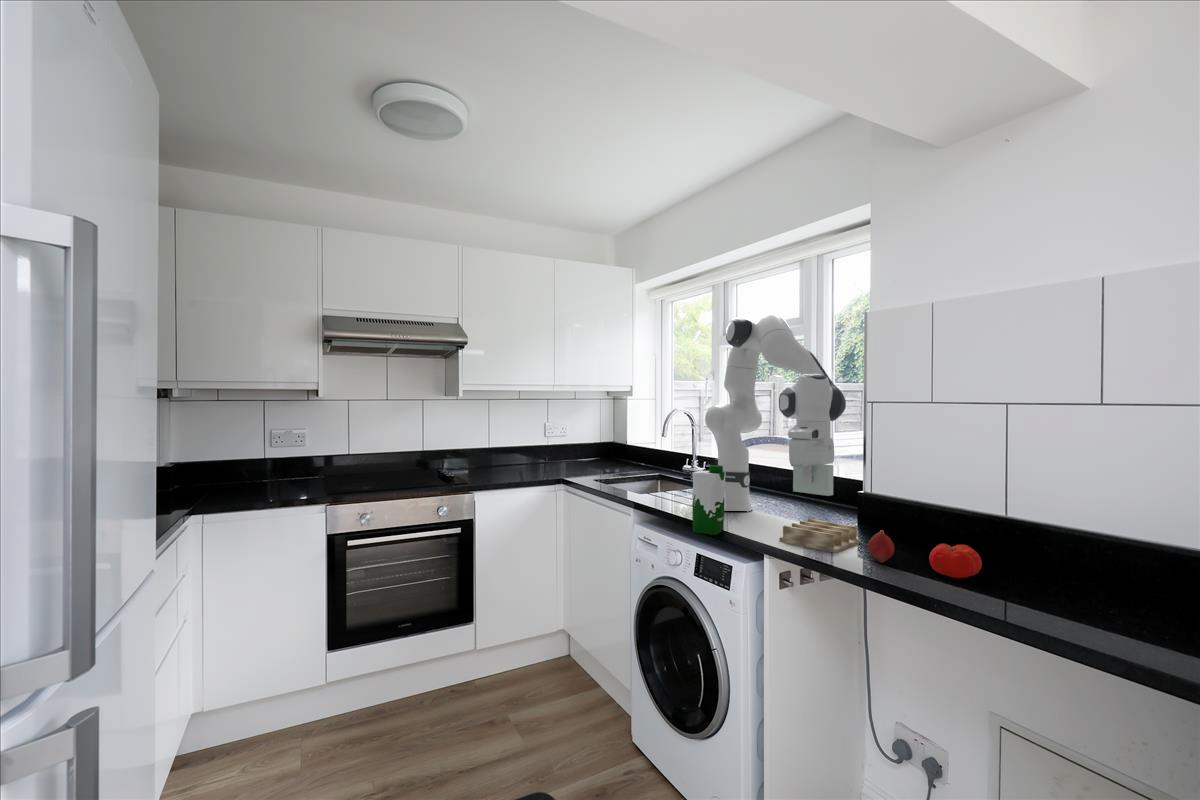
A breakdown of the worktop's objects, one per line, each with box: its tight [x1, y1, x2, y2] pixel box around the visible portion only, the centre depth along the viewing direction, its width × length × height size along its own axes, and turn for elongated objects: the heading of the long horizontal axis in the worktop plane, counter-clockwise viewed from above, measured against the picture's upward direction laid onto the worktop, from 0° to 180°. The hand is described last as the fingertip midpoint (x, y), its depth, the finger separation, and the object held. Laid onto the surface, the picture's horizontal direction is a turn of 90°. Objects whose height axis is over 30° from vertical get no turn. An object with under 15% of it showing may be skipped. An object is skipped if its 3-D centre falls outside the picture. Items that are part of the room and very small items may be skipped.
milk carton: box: [692, 464, 726, 536], centre depth 164 cm, size 9×9×20 cm
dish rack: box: [778, 518, 861, 554], centre depth 153 cm, size 16×16×4 cm
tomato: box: [928, 543, 983, 579], centre depth 125 cm, size 10×11×6 cm
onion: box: [867, 529, 895, 564], centre depth 134 cm, size 6×6×8 cm
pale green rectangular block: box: [792, 464, 834, 497], centre depth 150 cm, size 10×3×8 cm, turn 43°
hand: (812, 481), depth 150 cm, fingers closed on pale green rectangular block, 3 cm apart
